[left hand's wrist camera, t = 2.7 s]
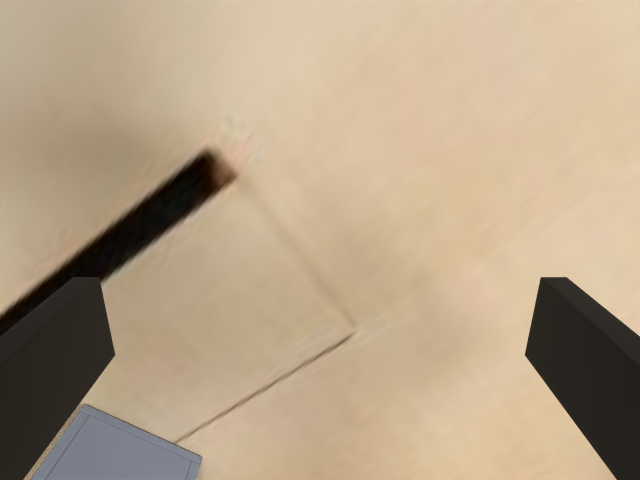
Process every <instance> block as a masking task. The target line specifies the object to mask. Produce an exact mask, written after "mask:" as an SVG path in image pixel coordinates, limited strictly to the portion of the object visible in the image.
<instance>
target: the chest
mask: <svg viewBox="0 0 640 480" xmlns="http://www.w3.org/2000/svg"><path fill="white" fill-rule="evenodd" d="M201 460H202V457H201V456H199V455H196V454H194V453H192V452H190V451H187V450H185V449H183V448H181V447H179V446H176V445H174V444H172V443H170V442H168V441H165V440H163V439H161V438H159V437H156V436H154V435H152V434H150V433H148V432H145V431H143V430H141V429H139V428H137V427H134V426H132V425H130V424H128V423H126V422H123V421H121V420H119V419H117V418H114V417H112V416H110V415H108V414H106V413H103V412H101V411H99V410H97V409H95V408H92V407H90V406H88V405H84V406H83V407H82V409H81V410H80V412H79V413H78V414H77V416H76V417H75V419H74V420H73V421H72V423H71V424H70V425H69V427H68V428H67V430H66V431H65V432H64V434H63V435H62V437H61V438H60V439H59V441H58V442H57V443H56V445H55V446H54V448H53V449H52V450H51V452H50V453H49V455H48V456H47V457H46V459H45V460H44V461H43V463H42V464H41V466H40V467H39V468H38V470H37V471H36V473H35V474H34V475H33V477H32V478H31V479H30V480H195V479H196V476H197V473H198V470H199V467H200V463H201Z"/></svg>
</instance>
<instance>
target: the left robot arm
mask: <svg viewBox="0 0 640 480" xmlns="http://www.w3.org/2000/svg"><path fill="white" fill-rule="evenodd" d="M114 356H115V352H114V347H113V342H112V337H111V332H110V328H109V323H108V318H107V313H106V308H105V303H104V298H103V294H102V289H101V284H100V279H99V277H73V278H72V279H71V280H70V281H68V282H67V283H66V284H65V285H63V286H62V287H61V288H60V289H58V290H57V291H56V292H55V293H53V294H52V295H51V296H50V297H49V298H47V299H46V300H45V301H44V302H42V303H41V304H40V305H39V306H37V307H36V308H35V309H34V310H32V311H31V312H30V313H29V314H28V315H26V316H25V317H24V318H23V319H21V320H20V321H19V322H18V323H16V324H15V325H14V326H13V327H11V328H10V329H9V330H8V331H7V332H5V333H4V334H3V335H2V336H0V480H23V479H24V478H25V476H26V475H27V474H28V472H29V471H30V470H31V468H32V467H33V466H34V464H35V463H36V462H37V460H38V459H39V457H40V456H41V455H42V453H43V452H44V451H45V449H46V448H47V447H48V445H49V444H50V443H51V441H52V440H53V439H54V437H55V436H56V434H57V433H58V432H59V430H60V429H61V428H62V426H63V425H64V424H65V422H66V421H67V420H68V418H69V417H70V416H71V414H72V413H73V411H74V410H75V409H76V407H77V406H78V405H79V403H80V402H81V401H82V399H83V398H84V397H85V395H86V394H87V392H88V391H89V390H90V388H91V387H92V386H93V384H94V383H95V382H96V380H97V379H98V378H99V376H100V375H101V374H102V372H103V371H104V369H105V368H106V367H107V365H108V364H109V363H110V361H111V360H112V359H113V357H114ZM525 356H526V357H527V359H528V360H529V361H530V363H531V364H532V365H533V367H534V368H535V369H536V371H537V372H538V374H539V375H540V376H541V378H542V379H543V380H544V382H545V383H546V384H547V386H548V387H549V388H550V390H551V391H552V392H553V394H554V395H555V397H556V398H557V399H558V401H559V402H560V403H561V405H562V406H563V407H564V409H565V410H566V411H567V413H568V414H569V416H570V417H571V418H572V420H573V421H574V422H575V424H576V425H577V426H578V428H579V429H580V430H581V432H582V433H583V434H584V436H585V437H586V439H587V440H588V441H589V443H590V444H591V445H592V447H593V448H594V449H595V451H596V452H597V453H598V455H599V456H600V457H601V459H602V460H603V462H604V463H605V464H606V466H607V467H608V468H609V470H610V471H611V472H612V474H613V475H614V476H615V478H616V479H617V480H640V336H638V335H637V334H636V333H635V332H633V331H632V330H631V329H630V328H629V327H627V326H626V325H625V324H624V323H622V322H621V321H620V320H619V319H617V318H616V317H615V316H614V315H612V314H611V313H610V312H609V311H608V310H606V309H605V308H604V307H603V306H601V305H600V304H599V303H598V302H596V301H595V300H594V299H593V298H591V297H590V296H589V295H588V294H587V293H585V292H584V291H583V290H582V289H580V288H579V287H578V286H577V285H575V284H574V283H573V282H572V281H570V280H569V279H568V278H567V277H541V279H540V284H539V289H538V294H537V298H536V303H535V308H534V313H533V318H532V323H531V328H530V332H529V337H528V342H527V347H526V352H525Z"/></svg>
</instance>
